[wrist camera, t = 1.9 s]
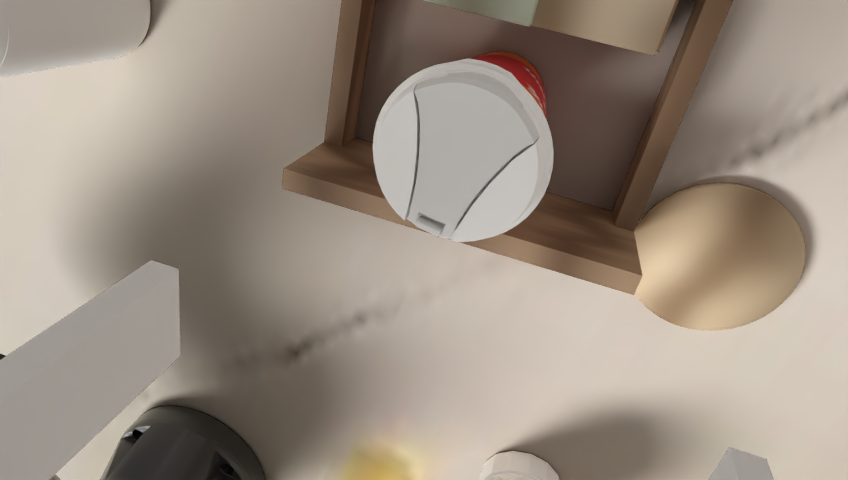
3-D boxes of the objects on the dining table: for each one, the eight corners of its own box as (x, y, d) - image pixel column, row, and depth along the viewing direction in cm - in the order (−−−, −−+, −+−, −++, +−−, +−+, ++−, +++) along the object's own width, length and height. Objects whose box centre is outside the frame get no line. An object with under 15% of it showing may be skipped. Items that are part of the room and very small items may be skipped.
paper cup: (530, 177, 36) (503, 281, 24) (422, 129, 37) (341, 207, 25) (587, 60, 33) (590, 112, 20) (466, 9, 33) (396, 30, 21)
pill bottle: (97, -98, 36) (-184, -140, 23) (176, 16, 38) (-41, 39, 25) (32, -23, 39) (-245, -22, 26) (108, 78, 41) (-115, 127, 28)
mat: (604, 298, 39) (605, 303, 38) (662, 163, 34) (663, 166, 33) (754, 344, 37) (757, 349, 37) (836, 210, 33) (840, 214, 32)
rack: (336, 149, 39) (281, 188, 32) (369, -99, 32) (309, -119, 25) (624, 233, 36) (633, 295, 29) (729, -18, 29) (774, -15, 22)
